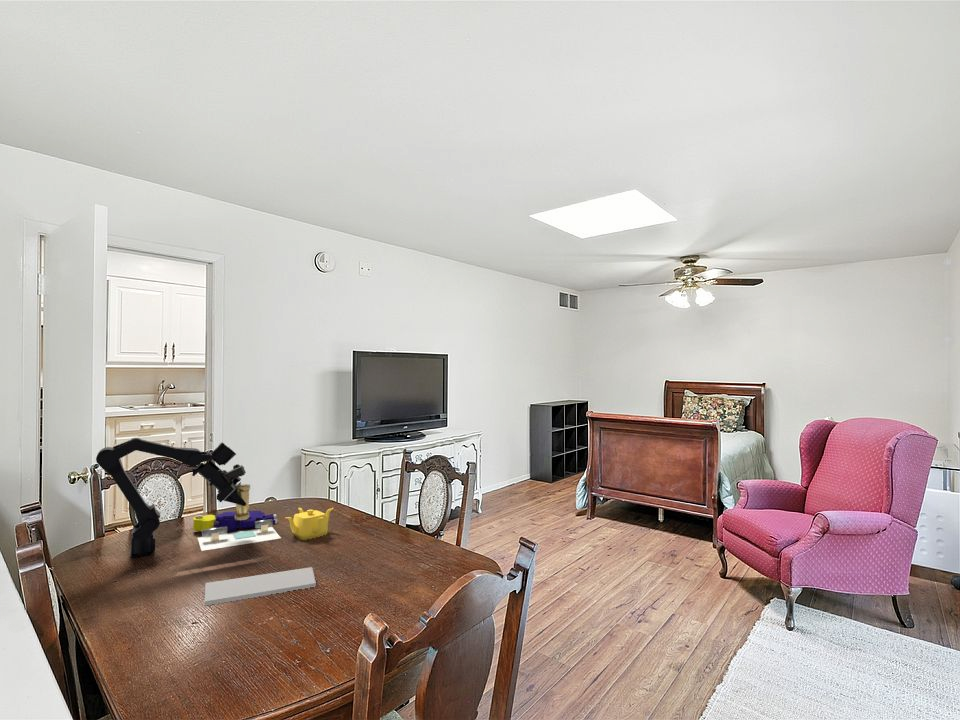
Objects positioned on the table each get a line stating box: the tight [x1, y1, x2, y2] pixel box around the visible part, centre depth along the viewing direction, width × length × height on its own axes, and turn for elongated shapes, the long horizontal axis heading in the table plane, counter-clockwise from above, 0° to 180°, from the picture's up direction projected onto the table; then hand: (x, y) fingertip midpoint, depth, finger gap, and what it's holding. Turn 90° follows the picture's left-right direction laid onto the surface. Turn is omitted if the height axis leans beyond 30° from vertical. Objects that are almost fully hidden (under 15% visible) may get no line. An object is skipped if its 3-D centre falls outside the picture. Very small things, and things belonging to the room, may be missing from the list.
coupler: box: [235, 483, 251, 520], centre depth 189 cm, size 5×5×12 cm
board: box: [197, 526, 282, 552], centre depth 188 cm, size 26×16×1 cm, turn 123°
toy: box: [192, 510, 278, 532], centre depth 201 cm, size 12×7×30 cm
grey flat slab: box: [204, 566, 317, 607], centre depth 149 cm, size 29×12×4 cm, turn 117°
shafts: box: [201, 519, 274, 542], centre depth 191 cm, size 24×6×4 cm, turn 123°
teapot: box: [284, 507, 334, 541], centre depth 197 cm, size 15×14×10 cm
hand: (246, 503), depth 189 cm, fingers closed on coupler, 4 cm apart
